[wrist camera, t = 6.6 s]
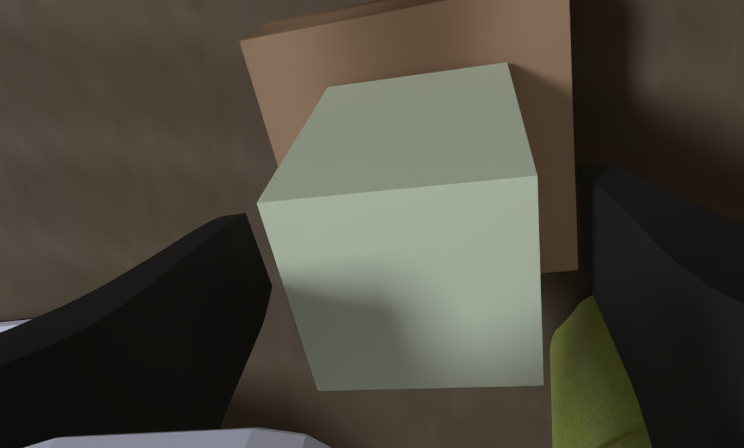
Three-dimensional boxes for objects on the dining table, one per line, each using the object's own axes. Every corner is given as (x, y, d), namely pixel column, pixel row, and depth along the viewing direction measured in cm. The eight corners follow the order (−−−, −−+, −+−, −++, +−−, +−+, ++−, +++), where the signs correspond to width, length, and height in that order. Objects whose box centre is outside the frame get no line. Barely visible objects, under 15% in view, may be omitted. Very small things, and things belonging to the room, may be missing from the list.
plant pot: (772, 201, 17) (1017, 434, 10) (788, 410, 21) (971, 689, 14) (475, 274, 20) (487, 499, 12) (540, 447, 24) (578, 695, 16)
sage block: (360, 233, 17) (317, 390, 11) (327, 87, 14) (256, 202, 9) (515, 221, 16) (543, 385, 11) (507, 62, 13) (537, 175, 8)
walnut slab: (334, 244, 20) (317, 293, 18) (272, 19, 17) (239, 41, 14) (561, 219, 19) (578, 270, 16) (549, -37, 15) (568, -24, 12)
